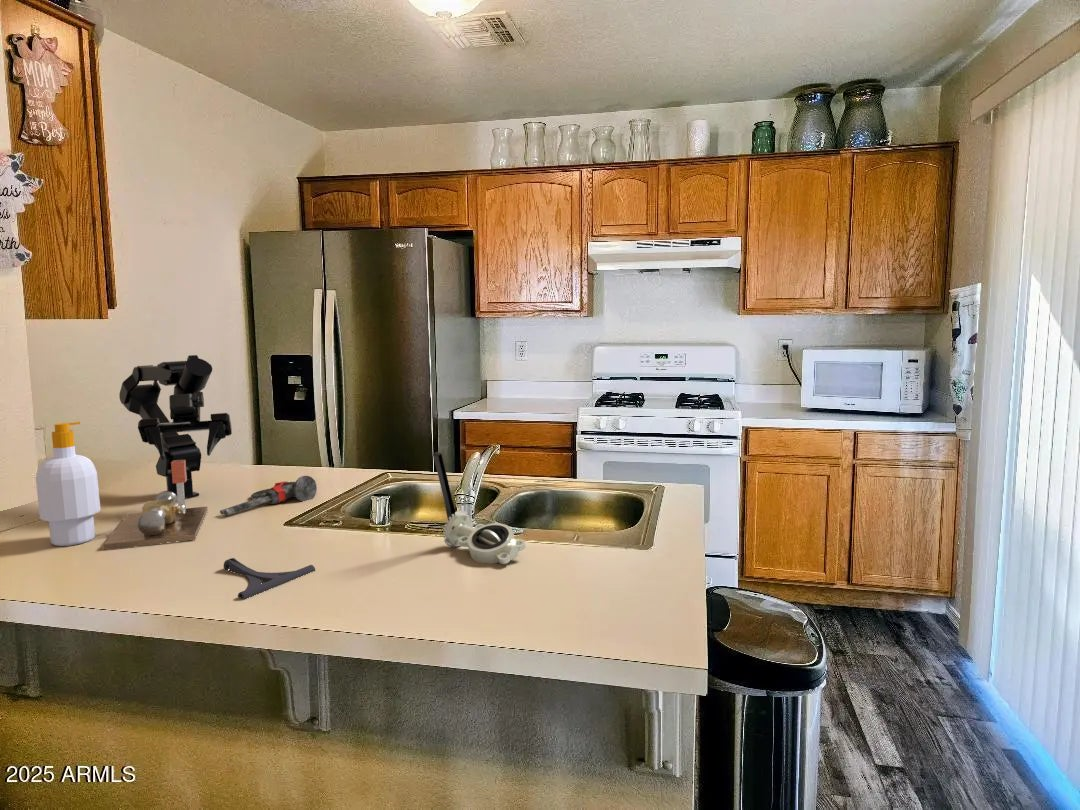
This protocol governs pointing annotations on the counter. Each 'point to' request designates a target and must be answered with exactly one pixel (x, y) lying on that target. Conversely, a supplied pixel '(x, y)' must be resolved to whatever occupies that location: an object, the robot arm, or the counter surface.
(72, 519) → the soap bottle
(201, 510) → the valve stand
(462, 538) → the butterfly valve
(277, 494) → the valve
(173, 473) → the lever
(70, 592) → the counter surface
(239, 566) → the dark grey squeegee
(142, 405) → the robot arm
